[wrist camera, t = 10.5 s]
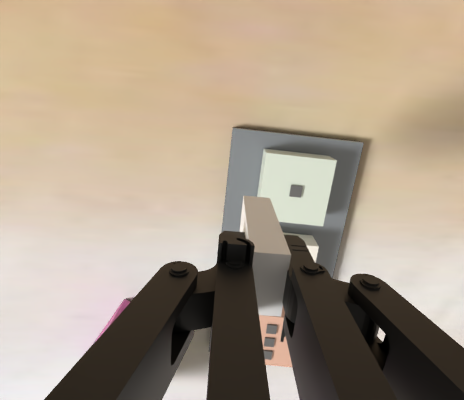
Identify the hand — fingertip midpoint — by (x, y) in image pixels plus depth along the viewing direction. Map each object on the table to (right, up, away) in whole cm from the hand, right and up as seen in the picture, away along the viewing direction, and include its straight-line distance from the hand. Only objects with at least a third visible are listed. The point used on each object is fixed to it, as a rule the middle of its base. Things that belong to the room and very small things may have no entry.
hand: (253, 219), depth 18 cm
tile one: (+4, +3, +12) cm, 13 cm away
